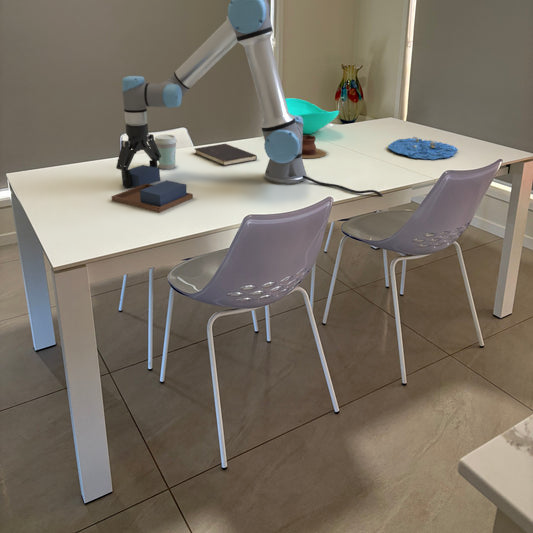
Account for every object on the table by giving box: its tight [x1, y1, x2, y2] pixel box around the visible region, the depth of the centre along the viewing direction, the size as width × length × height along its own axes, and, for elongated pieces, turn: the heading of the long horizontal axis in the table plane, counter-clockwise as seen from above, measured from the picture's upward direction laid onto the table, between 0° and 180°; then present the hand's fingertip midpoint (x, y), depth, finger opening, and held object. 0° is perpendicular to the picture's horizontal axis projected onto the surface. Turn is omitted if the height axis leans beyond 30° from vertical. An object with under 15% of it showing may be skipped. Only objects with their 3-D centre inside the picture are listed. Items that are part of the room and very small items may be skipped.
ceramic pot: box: [302, 134, 327, 159], centre depth 250 cm, size 18×18×7 cm
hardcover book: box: [194, 143, 258, 167], centre depth 244 cm, size 16×23×2 cm
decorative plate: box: [387, 136, 459, 160], centre depth 256 cm, size 30×30×5 cm
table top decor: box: [285, 97, 340, 135], centre depth 284 cm, size 40×28×13 cm
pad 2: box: [140, 179, 188, 207], centre depth 191 cm, size 8×13×5 cm, turn 148°
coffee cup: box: [154, 134, 178, 170], centre depth 228 cm, size 9×9×12 cm
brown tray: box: [111, 184, 194, 213], centre depth 194 cm, size 21×17×2 cm
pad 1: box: [120, 164, 161, 188], centre depth 210 cm, size 8×11×5 cm
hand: (141, 183), depth 211 cm, fingers open, 13 cm apart
